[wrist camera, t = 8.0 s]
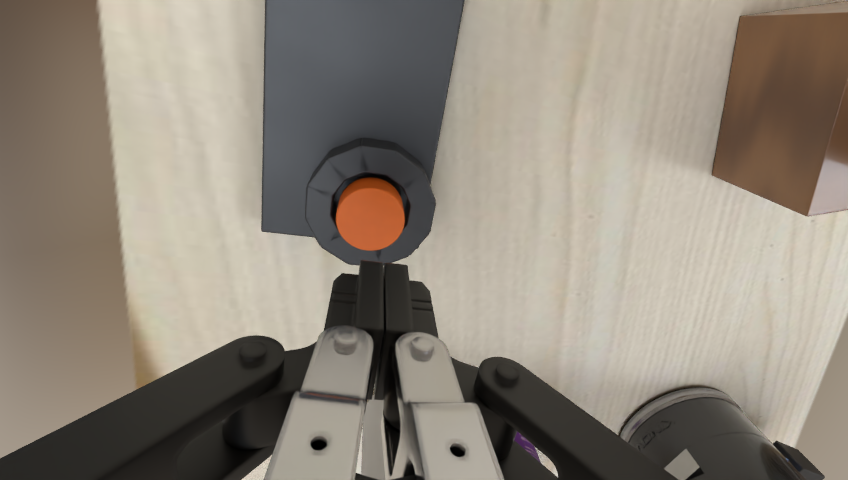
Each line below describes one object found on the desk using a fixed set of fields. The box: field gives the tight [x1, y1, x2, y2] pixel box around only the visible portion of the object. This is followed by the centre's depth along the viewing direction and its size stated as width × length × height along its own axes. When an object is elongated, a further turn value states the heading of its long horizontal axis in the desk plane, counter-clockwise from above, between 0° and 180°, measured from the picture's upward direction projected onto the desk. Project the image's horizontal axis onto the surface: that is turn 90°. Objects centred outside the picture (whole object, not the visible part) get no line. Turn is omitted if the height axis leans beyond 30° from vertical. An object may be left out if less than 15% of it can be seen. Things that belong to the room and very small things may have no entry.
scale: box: [261, 0, 465, 266], centre depth 19 cm, size 14×8×3 cm, turn 170°
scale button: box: [336, 177, 405, 251], centre depth 20 cm, size 3×3×2 cm
